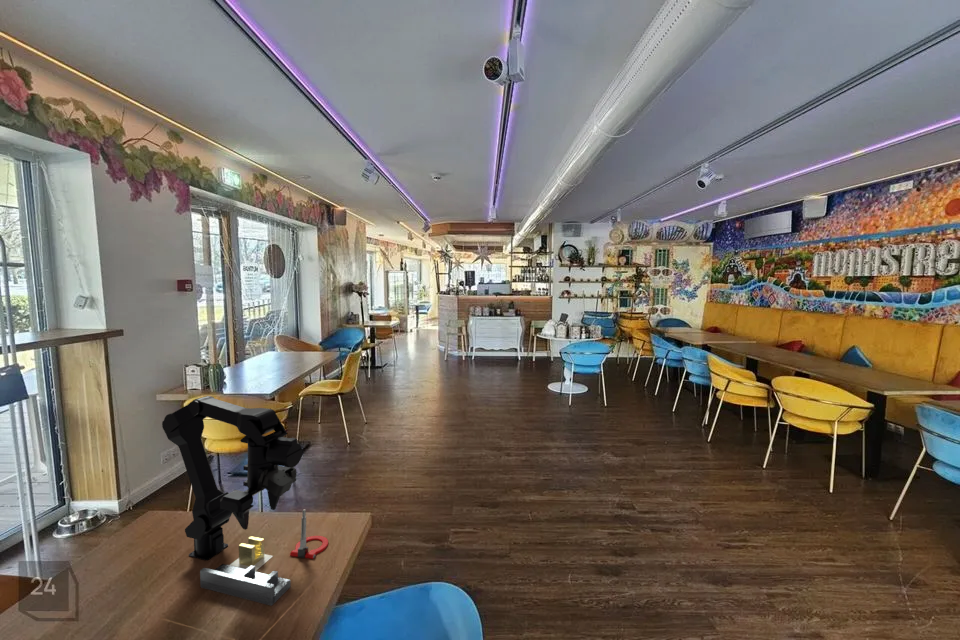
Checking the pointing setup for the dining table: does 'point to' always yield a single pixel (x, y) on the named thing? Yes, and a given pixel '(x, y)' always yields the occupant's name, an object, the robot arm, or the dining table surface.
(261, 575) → the rack flange
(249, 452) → the robot arm
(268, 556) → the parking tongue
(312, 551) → the tow hook
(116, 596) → the dining table surface
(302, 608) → the dining table surface
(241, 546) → the bracket
